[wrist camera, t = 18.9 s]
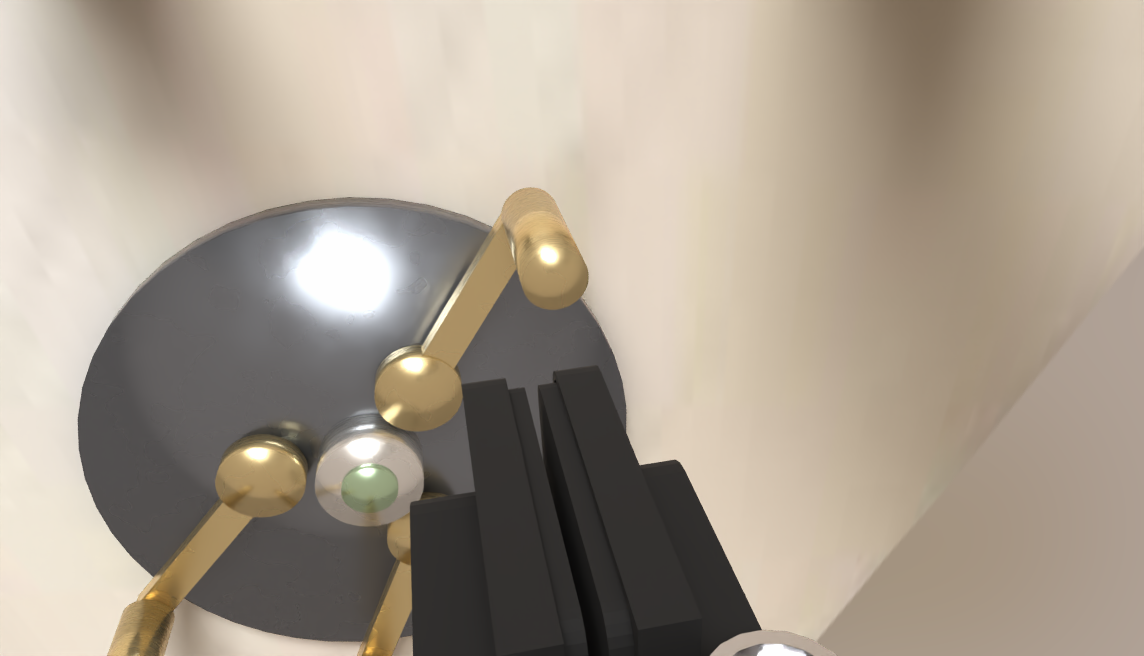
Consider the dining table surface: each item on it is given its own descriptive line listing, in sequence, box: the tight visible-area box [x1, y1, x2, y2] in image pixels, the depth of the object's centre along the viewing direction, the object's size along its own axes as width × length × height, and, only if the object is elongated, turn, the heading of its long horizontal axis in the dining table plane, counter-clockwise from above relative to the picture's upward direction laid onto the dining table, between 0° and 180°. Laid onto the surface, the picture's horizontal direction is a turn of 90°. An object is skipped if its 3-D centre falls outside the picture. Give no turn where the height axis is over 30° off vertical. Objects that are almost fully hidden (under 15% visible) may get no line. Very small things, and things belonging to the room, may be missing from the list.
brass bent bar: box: [374, 188, 588, 431], centre depth 34 cm, size 13×4×8 cm, turn 149°
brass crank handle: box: [357, 492, 447, 656], centre depth 42 cm, size 13×4×8 cm, turn 158°
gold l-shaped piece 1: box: [107, 434, 308, 656], centre depth 38 cm, size 13×4×8 cm, turn 139°
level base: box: [78, 197, 626, 641], centre depth 40 cm, size 26×26×4 cm
